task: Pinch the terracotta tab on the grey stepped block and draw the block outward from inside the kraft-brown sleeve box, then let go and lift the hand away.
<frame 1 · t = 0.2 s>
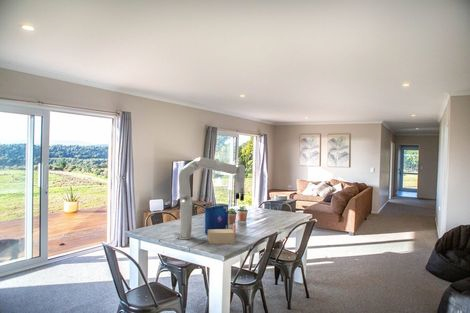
hand: (239, 199, 266), 31 cm above the table, tool pointing down, fingers open, 9 cm apart
book: (216, 233, 274), on the table
grey stepped block: (222, 232, 250), point 7 cm above the table, slide at 0.0 cm
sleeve: (220, 241, 250), on the table
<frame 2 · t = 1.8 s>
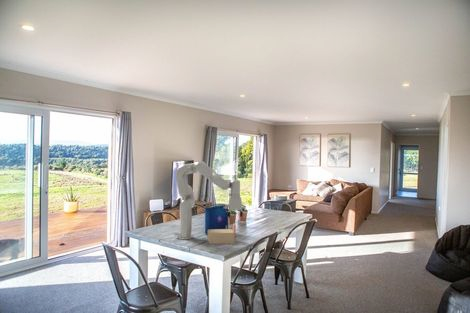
hand: (235, 216, 252), 19 cm above the table, tool pointing down, fingers open, 9 cm apart
nothing on the table moved.
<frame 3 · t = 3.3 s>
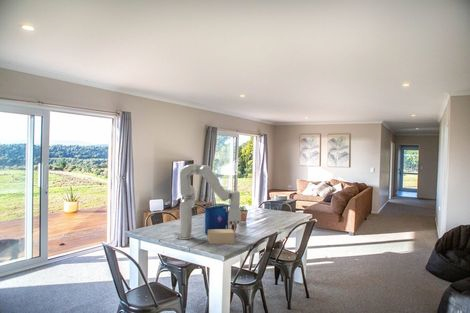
hand: (234, 229, 252), 9 cm above the table, tool pointing down, fingers closed
grey stepped block: (222, 232, 250), point 7 cm above the table, slide at 0.0 cm, touching gripper
everything else where it was.
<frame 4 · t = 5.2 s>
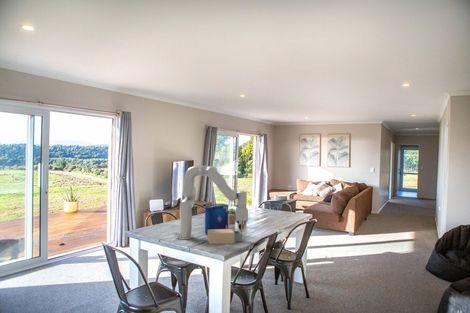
hand: (241, 229, 254), 9 cm above the table, tool pointing down, fingers closed
grey stepped block: (229, 231, 252), point 7 cm above the table, slide at 5.7 cm, touching gripper
everything else where it was.
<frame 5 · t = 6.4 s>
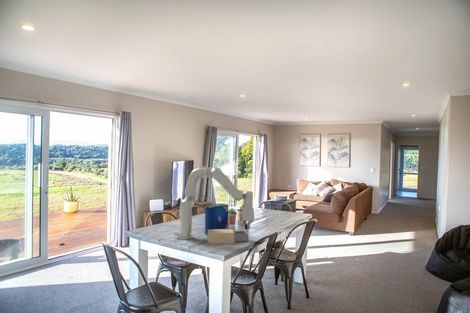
hand: (247, 229, 255), 9 cm above the table, tool pointing down, fingers closed
grey stepped block: (235, 231, 253), point 7 cm above the table, slide at 10.9 cm, touching gripper
everything else where it was.
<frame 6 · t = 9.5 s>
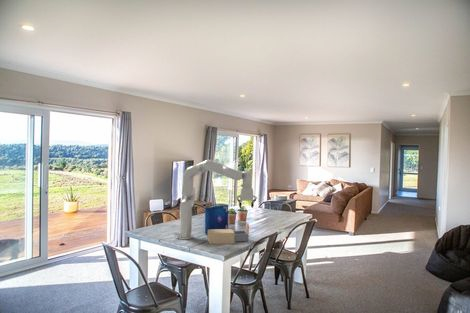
hand: (246, 207, 255), 26 cm above the table, tool pointing down, fingers open, 9 cm apart
grey stepped block: (235, 231, 253), point 7 cm above the table, slide at 11.0 cm
everything else where it was.
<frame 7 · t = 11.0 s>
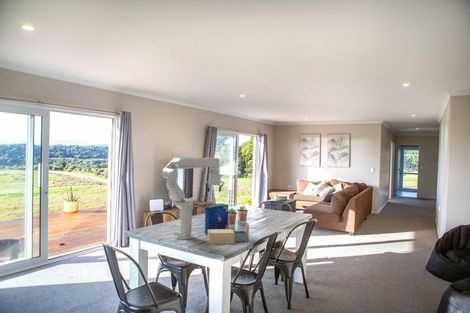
hand: (214, 191, 274), 36 cm above the table, tool pointing down, fingers open, 9 cm apart
nothing on the table moved.
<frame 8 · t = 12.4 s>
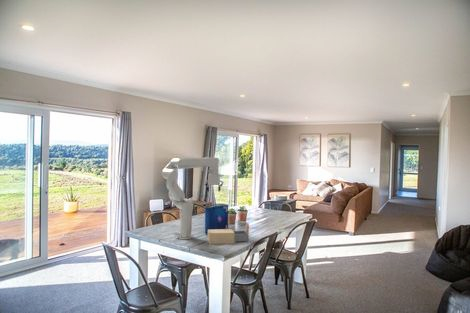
hand: (213, 191, 275), 36 cm above the table, tool pointing down, fingers open, 9 cm apart
nothing on the table moved.
at the end: grey stepped block slide at 11.0 cm; the gripper is holding nothing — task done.
